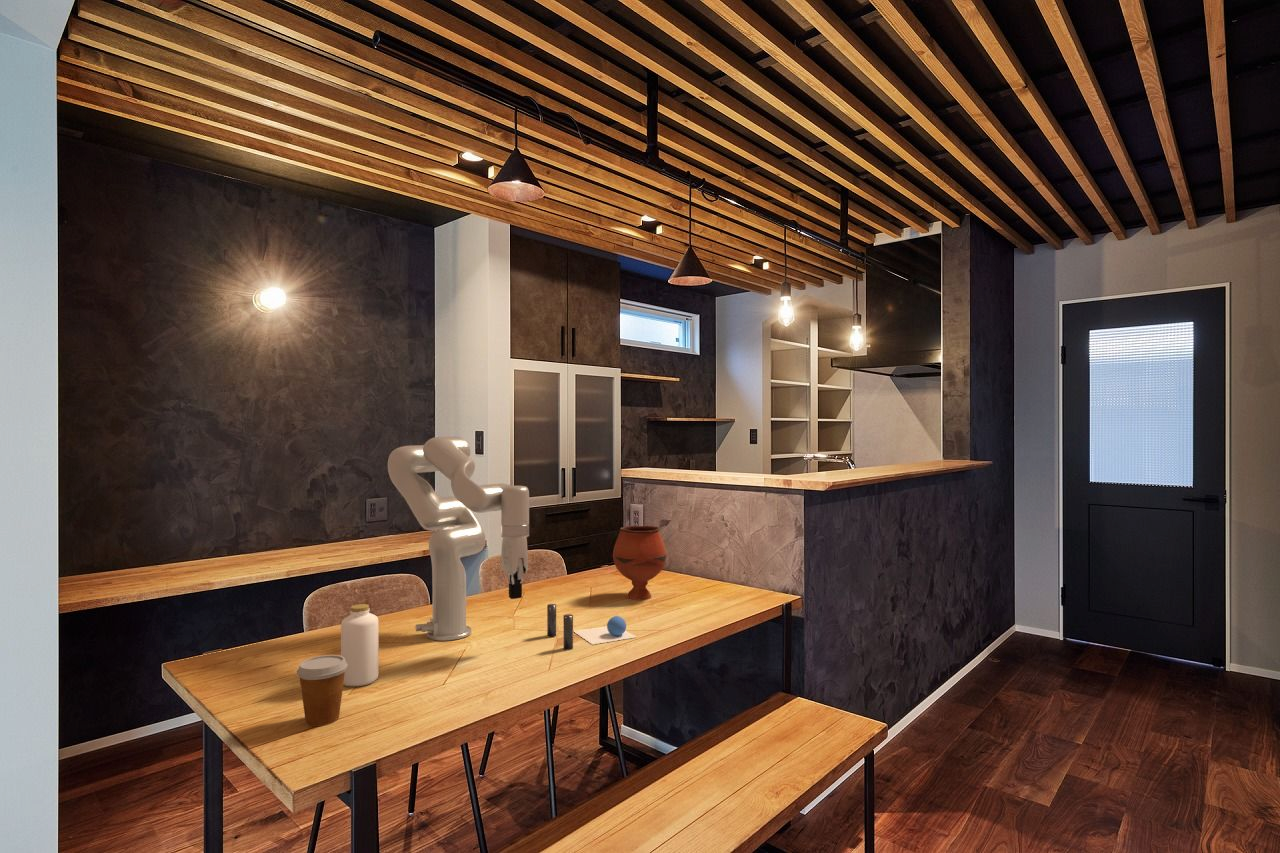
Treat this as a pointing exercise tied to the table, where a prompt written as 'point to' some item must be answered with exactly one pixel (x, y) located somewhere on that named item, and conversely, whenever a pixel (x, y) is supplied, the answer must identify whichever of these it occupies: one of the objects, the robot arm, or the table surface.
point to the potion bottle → (360, 646)
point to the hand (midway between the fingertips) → (515, 597)
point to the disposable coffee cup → (322, 688)
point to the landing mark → (601, 635)
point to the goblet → (639, 557)
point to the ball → (616, 626)
